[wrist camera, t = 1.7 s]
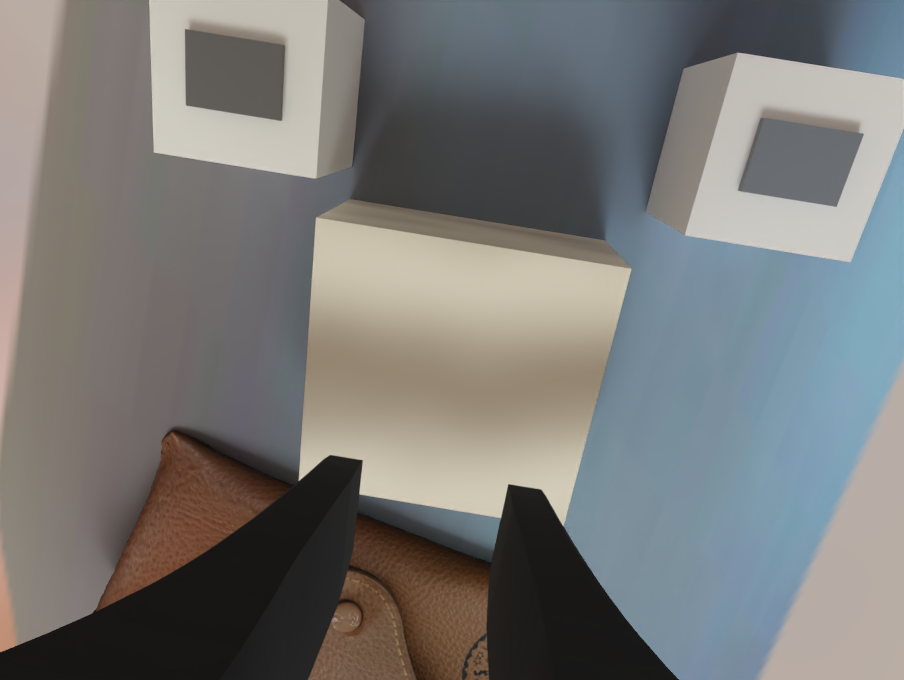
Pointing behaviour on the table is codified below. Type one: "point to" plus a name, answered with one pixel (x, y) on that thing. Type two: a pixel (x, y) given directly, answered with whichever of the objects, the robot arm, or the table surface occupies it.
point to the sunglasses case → (366, 585)
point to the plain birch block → (455, 354)
